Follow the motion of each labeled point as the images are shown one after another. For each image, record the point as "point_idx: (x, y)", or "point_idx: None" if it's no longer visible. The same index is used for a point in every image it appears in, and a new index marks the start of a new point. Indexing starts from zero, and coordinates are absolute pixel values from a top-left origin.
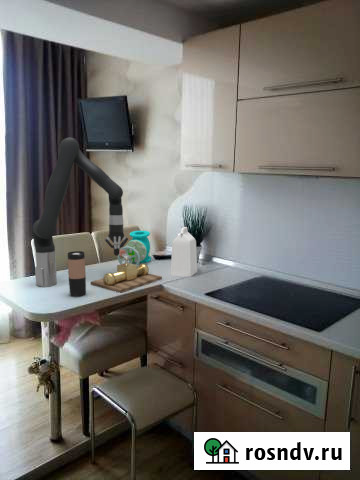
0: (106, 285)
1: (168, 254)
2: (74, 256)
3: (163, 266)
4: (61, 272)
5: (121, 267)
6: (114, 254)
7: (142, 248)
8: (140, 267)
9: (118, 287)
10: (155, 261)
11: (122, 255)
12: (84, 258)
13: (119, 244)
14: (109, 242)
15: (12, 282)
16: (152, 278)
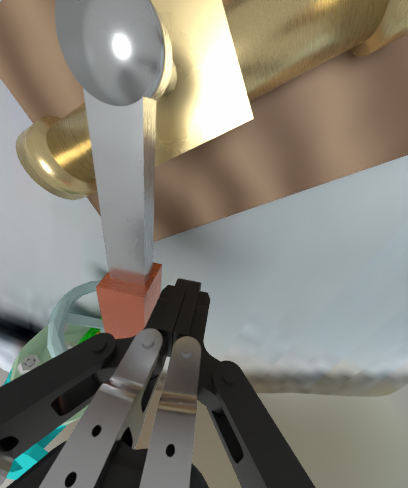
0: None
1: (9, 345)
2: None
3: (10, 259)
4: (353, 359)
5: (231, 44)
6: (207, 296)
7: (28, 360)
8: (64, 130)
9: None
10: (42, 315)
11: (150, 222)
12: None
13: (113, 382)
14: (273, 486)
15: None
16: (29, 10)
